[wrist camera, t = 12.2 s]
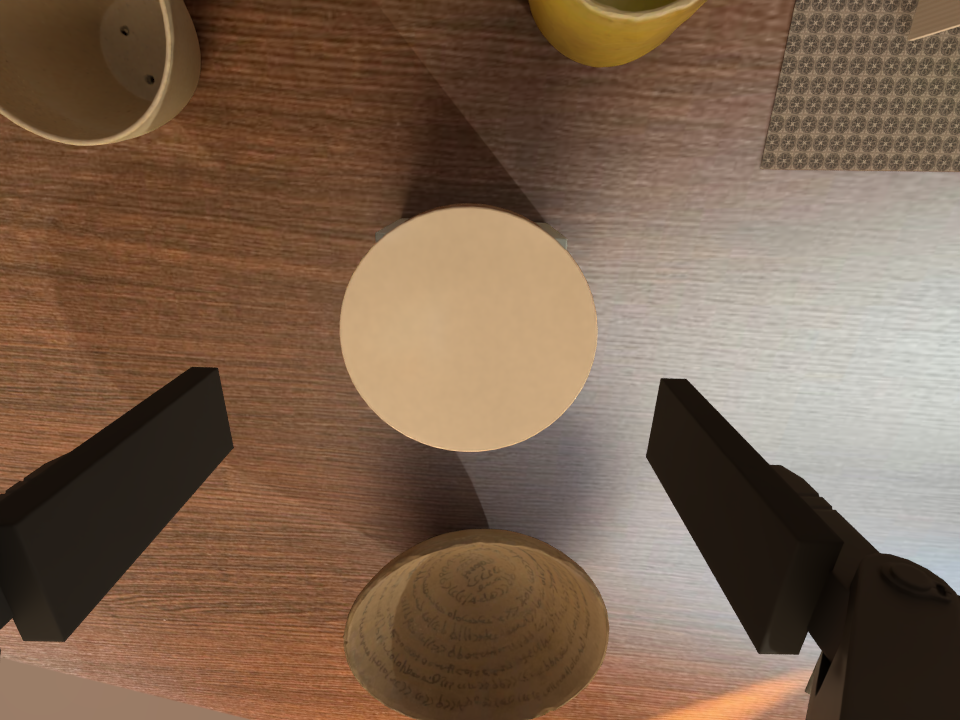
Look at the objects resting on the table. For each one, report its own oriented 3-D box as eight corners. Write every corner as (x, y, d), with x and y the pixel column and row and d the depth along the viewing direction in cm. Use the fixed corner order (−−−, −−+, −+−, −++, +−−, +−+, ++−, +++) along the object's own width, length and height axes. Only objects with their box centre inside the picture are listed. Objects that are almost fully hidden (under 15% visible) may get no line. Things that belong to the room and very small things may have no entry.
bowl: (592, 631, 43) (616, 727, 35) (392, 650, 44) (373, 748, 36) (580, 456, 36) (606, 529, 29) (343, 483, 37) (309, 561, 30)
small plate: (343, 198, 22) (328, 201, 20) (601, 207, 22) (614, 211, 20) (359, 425, 27) (348, 449, 24) (574, 432, 27) (582, 455, 24)
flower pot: (91, 150, 28) (-29, 144, 22) (36, -60, 25) (-129, -146, 18) (259, 152, 28) (190, 146, 22) (228, -57, 25) (134, -143, 18)
